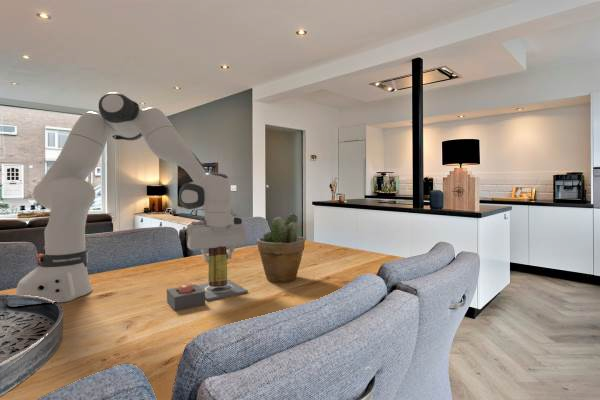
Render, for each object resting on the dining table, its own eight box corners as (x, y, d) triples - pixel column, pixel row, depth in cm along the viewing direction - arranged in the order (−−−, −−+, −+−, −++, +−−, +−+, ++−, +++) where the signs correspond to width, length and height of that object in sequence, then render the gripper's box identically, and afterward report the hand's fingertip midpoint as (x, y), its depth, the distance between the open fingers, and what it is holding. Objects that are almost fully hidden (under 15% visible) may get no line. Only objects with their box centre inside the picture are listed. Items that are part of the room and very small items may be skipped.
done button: (180, 299, 101) (180, 288, 101) (176, 295, 105) (176, 285, 105) (194, 296, 104) (194, 286, 104) (190, 293, 107) (190, 283, 107)
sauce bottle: (229, 284, 118) (230, 227, 120) (223, 287, 112) (225, 227, 114) (211, 284, 119) (212, 227, 121) (204, 287, 113) (206, 227, 115)
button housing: (174, 310, 98) (174, 297, 98) (167, 301, 106) (166, 289, 105) (205, 304, 103) (205, 291, 103) (195, 296, 111) (195, 284, 110)
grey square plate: (207, 301, 106) (207, 298, 106) (191, 288, 119) (191, 285, 119) (247, 292, 114) (247, 290, 114) (229, 281, 127) (228, 279, 127)
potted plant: (299, 287, 120) (299, 217, 119) (250, 284, 124) (249, 216, 123) (308, 273, 138) (308, 212, 137) (265, 271, 142) (264, 212, 141)
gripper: (190, 222, 107) (190, 266, 108) (248, 219, 119) (249, 258, 119) (184, 221, 112) (184, 262, 113) (241, 217, 124) (241, 254, 125)
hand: (218, 260), depth 116 cm, fingers closed on sauce bottle, 6 cm apart
